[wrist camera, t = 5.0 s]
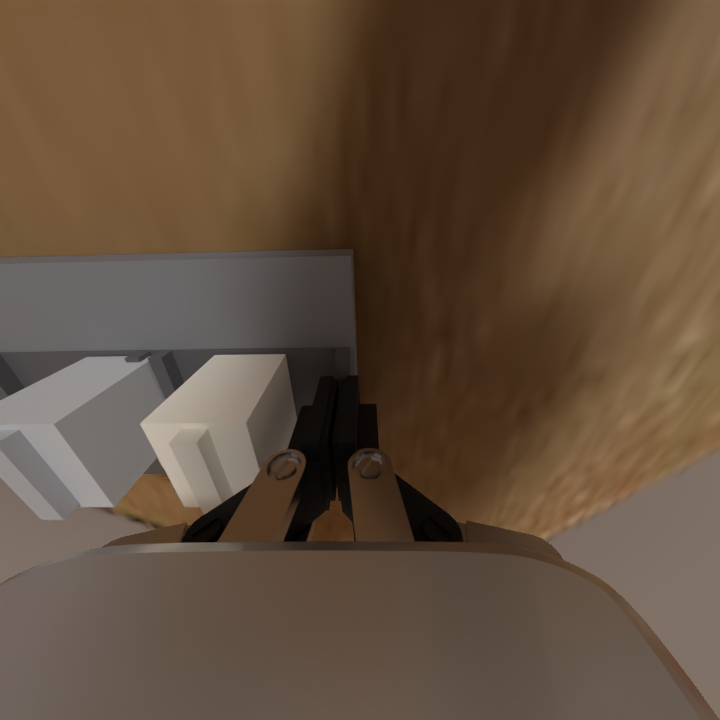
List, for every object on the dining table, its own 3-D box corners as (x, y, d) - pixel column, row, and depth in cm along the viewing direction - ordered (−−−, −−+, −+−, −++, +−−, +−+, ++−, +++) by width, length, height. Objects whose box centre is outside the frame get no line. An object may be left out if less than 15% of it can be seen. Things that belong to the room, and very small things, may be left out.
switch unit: (353, 248, 12) (350, 258, 9) (359, 443, 18) (358, 487, 15) (-183, 261, 13) (-342, 274, 10) (-12, 445, 19) (-81, 487, 16)
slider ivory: (285, 353, 12) (237, 437, 7) (297, 423, 14) (265, 523, 9) (214, 355, 12) (123, 438, 7) (236, 424, 14) (174, 523, 9)
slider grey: (156, 355, 12) (30, 438, 8) (185, 424, 14) (100, 523, 9) (87, 356, 12) (-78, 439, 8) (125, 424, 14) (12, 523, 9)
